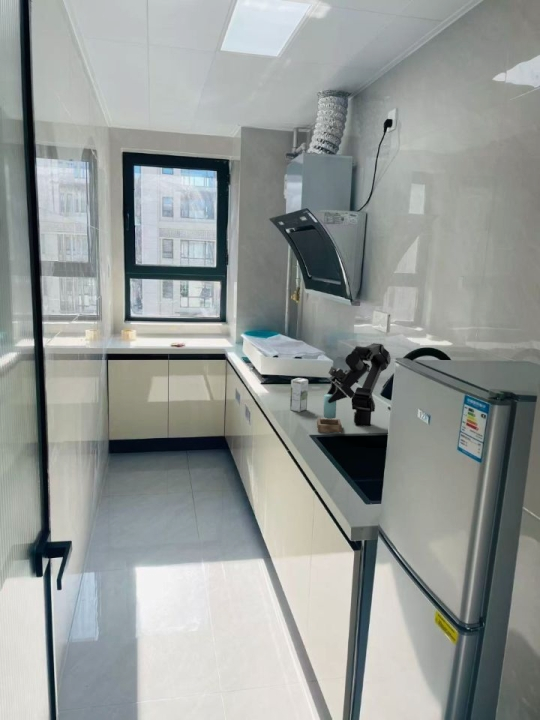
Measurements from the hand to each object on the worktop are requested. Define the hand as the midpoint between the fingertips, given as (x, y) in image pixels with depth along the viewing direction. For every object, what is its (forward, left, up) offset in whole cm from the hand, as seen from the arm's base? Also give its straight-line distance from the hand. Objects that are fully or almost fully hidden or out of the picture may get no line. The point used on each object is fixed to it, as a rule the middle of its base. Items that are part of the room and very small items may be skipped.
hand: (326, 400), depth 226 cm
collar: (-1, 0, -12) cm, 12 cm away
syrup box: (+11, -29, -12) cm, 33 cm away
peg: (-1, 0, -7) cm, 7 cm away
